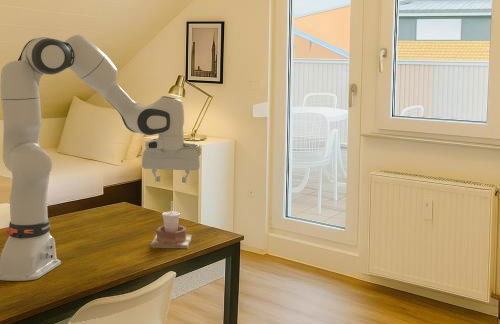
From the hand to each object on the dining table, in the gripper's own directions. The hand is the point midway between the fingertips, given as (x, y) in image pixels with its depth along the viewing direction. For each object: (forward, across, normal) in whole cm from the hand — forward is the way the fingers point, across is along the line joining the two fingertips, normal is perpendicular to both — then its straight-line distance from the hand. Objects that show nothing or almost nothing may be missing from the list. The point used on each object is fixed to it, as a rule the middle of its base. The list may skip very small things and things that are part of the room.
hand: (171, 181), depth 217 cm
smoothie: (+21, 0, 0) cm, 21 cm away
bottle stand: (+22, 0, 0) cm, 22 cm away
